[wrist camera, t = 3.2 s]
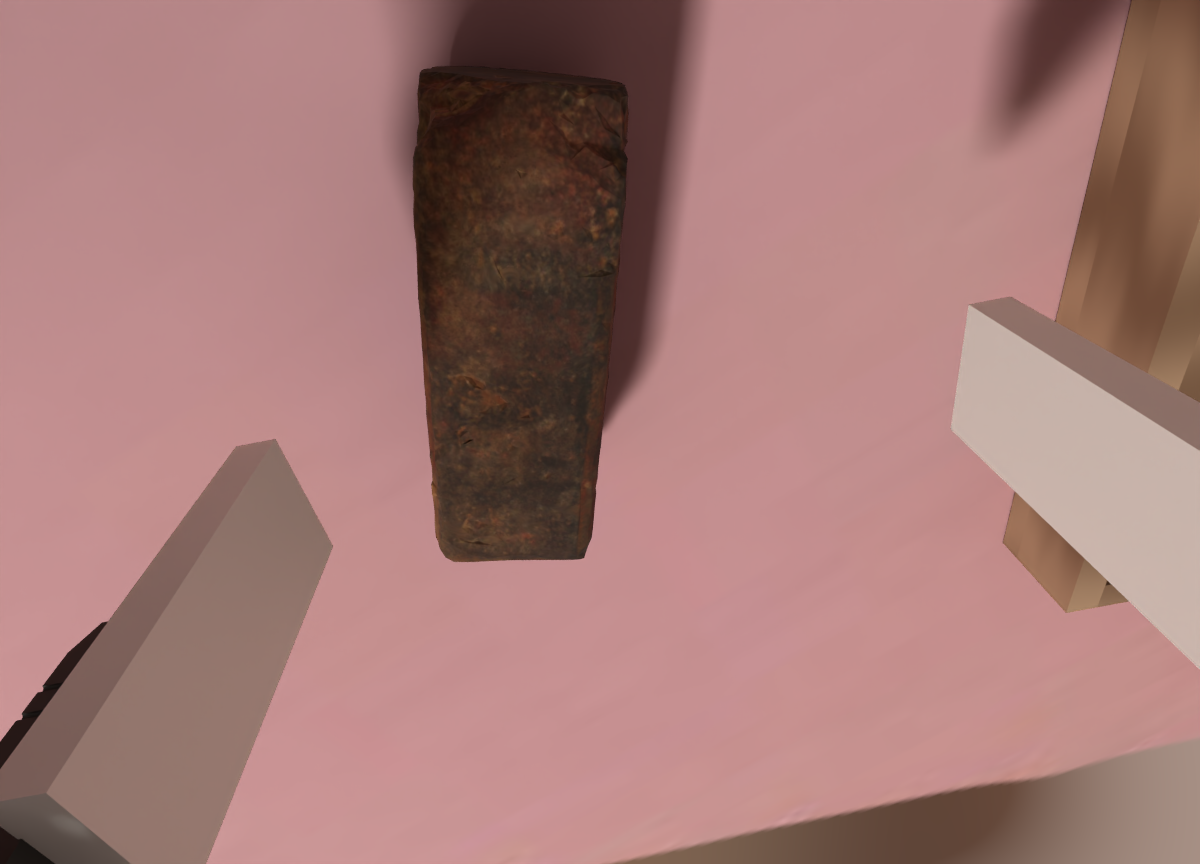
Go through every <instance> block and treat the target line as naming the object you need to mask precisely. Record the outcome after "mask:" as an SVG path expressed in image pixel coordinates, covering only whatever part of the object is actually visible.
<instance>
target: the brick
mask: <svg viewBox="0 0 1200 864" xmlns="http://www.w3.org/2000/svg"><path fill="white" fill-rule="evenodd" d="M627 104H628V94H627V91H626V87H625V85H622V83H620V82H615V81H611V80H606V79H597V78H589V77H582V76H573V75H565V74H556V73H546V72H536V71H527V70H515V69H504V68H500V69H494V68H487V67H472V66H444V67H432V68H431V69H424V70H422V71H421V72H420V78H419V87H418V110H419V126H418V131H417V146H416V148H415V152H414V157H413V190H414V208H413V212H414V230H415V238H416V250H417V274H418V300H419V309H420V320H421V337H422V351H423V368H424V385H425V396H426V415H427V425H428V435H429V446H430V459H431V464H432V478H433V481H432V484H431V486H432V495H433V501H434V510H435V532H436V538H437V540H438V542H439V547H440V549H441V551H442V552H443V554H444V555H445V557H446V558H448V559H450V560H452V561H453V562H479V561H499V560H574V559H582V558H584V556H585V553H586V550H587V547H588V545H589V542H590V540H591V537H592V530H593V520H594V508H595V498H596V489H595V488H596V483H597V477H598V464H599V455H600V448H601V437H602V425H603V415H604V407H605V399H606V390H607V383H608V365H609V357H610V349H611V341H612V327H613V318H614V312H615V301H616V286H617V277H618V270H619V262H620V240H621V232H622V224H623V214H624V208H625V201H626V166H627V157H626V155H625V153H624V148H625V145H626V143H627V142H628V141H627V139H626V137H627V127H628V115H629V112H628V105H627Z"/></svg>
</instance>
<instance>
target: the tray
mask: <svg viewBox="0 0 1200 864" xmlns="http://www.w3.org/2000/svg"><path fill="white" fill-rule="evenodd" d="M1056 322H1057V323H1058V324H1060V325H1062V326H1064V327H1066V328H1067V329H1069V330H1071V331H1073V332H1075V333H1076V334H1078V335H1080V336H1082V337H1083V338H1085V339H1087V340H1089V341H1091V342H1092V343H1094V344H1096V345H1098V346H1100V347H1101V348H1103V349H1105V350H1107V351H1108V352H1110V353H1112V354H1114V355H1116V356H1117V357H1119V358H1121V359H1123V360H1125V361H1126V362H1128V363H1130V364H1132V365H1133V366H1135V367H1137V368H1139V369H1141V370H1142V371H1144V372H1146V373H1148V374H1149V375H1151V376H1153V377H1155V378H1157V379H1158V380H1160V381H1162V382H1164V383H1166V384H1167V385H1169V386H1171V387H1173V388H1174V389H1176V390H1178V391H1180V392H1182V393H1183V394H1185V395H1187V396H1189V397H1191V398H1192V399H1194V400H1196V401H1198V402H1199V403H1200V0H1132V1H1131V6H1130V10H1129V14H1128V18H1127V22H1126V27H1125V31H1124V35H1123V39H1122V44H1121V48H1120V52H1119V56H1118V60H1117V65H1116V69H1115V73H1114V77H1113V82H1112V86H1111V90H1110V94H1109V98H1108V103H1107V107H1106V111H1105V115H1104V119H1103V124H1102V128H1101V132H1100V136H1099V141H1098V145H1097V149H1096V153H1095V157H1094V162H1093V166H1092V170H1091V174H1090V178H1089V183H1088V187H1087V191H1086V195H1085V200H1084V204H1083V208H1082V212H1081V216H1080V221H1079V225H1078V229H1077V233H1076V237H1075V242H1074V246H1073V250H1072V254H1071V259H1070V263H1069V267H1068V271H1067V275H1066V280H1065V284H1064V288H1063V292H1062V296H1061V301H1060V305H1059V309H1058V313H1057V318H1056ZM1003 543H1004V544H1005V546H1006V547H1007V548H1008V549H1009V550H1010V551H1011V552H1012V553H1013V554H1014V556H1015V557H1016V558H1017V559H1018V560H1019V561H1020V562H1021V563H1022V564H1023V566H1024V567H1025V568H1026V569H1027V570H1028V571H1029V572H1030V573H1031V574H1032V576H1033V577H1034V578H1035V579H1036V580H1037V581H1038V582H1039V583H1040V584H1041V586H1042V587H1043V588H1044V589H1045V590H1046V591H1047V592H1048V593H1049V594H1050V596H1051V597H1052V598H1053V599H1054V600H1055V601H1056V602H1057V603H1058V604H1059V606H1060V607H1061V608H1062V609H1063V610H1064V611H1065V612H1066V613H1069V612H1074V611H1079V610H1085V609H1090V608H1096V607H1101V606H1106V605H1112V604H1117V603H1123V602H1128V600H1127V599H1126V598H1125V597H1124V596H1123V595H1122V594H1121V593H1120V592H1119V591H1118V590H1117V589H1116V588H1115V587H1114V586H1113V585H1112V584H1111V583H1110V582H1108V581H1107V580H1106V579H1105V578H1104V577H1103V576H1102V575H1101V574H1100V573H1099V572H1098V571H1097V570H1096V569H1095V568H1094V567H1093V566H1092V565H1091V564H1090V563H1089V562H1088V561H1087V560H1086V559H1085V558H1084V557H1083V556H1082V555H1080V554H1079V553H1078V552H1077V551H1076V550H1075V549H1074V548H1073V547H1072V546H1071V545H1070V544H1069V543H1068V542H1067V541H1066V540H1065V539H1064V538H1063V537H1062V536H1061V535H1060V534H1059V533H1058V532H1057V531H1056V530H1055V529H1054V528H1052V527H1051V526H1050V525H1049V524H1048V523H1047V522H1046V521H1045V520H1044V519H1043V518H1042V517H1041V516H1040V515H1039V514H1038V513H1037V512H1036V511H1035V510H1034V509H1033V508H1032V507H1031V506H1030V505H1029V504H1028V503H1027V502H1025V501H1024V500H1023V499H1022V498H1021V497H1020V496H1019V495H1018V494H1017V493H1016V492H1015V495H1014V499H1013V503H1012V507H1011V511H1010V516H1009V520H1008V524H1007V528H1006V533H1005V537H1004V541H1003Z"/></svg>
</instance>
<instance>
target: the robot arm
mask: <svg viewBox="0 0 1200 864" xmlns="http://www.w3.org/2000/svg"><path fill="white" fill-rule="evenodd" d="M951 430H952V431H953V432H954V433H955V434H956V435H957V436H958V437H959V438H960V439H961V440H962V441H963V442H964V443H965V444H966V445H967V446H968V447H969V448H971V449H972V450H973V451H974V452H975V453H976V454H977V455H978V456H979V457H980V458H981V459H982V460H983V461H984V462H985V463H986V464H987V465H988V466H989V467H990V468H991V469H992V470H993V471H994V472H995V473H996V474H997V475H999V476H1000V477H1001V478H1002V479H1003V480H1004V481H1005V482H1006V483H1007V484H1008V485H1009V486H1010V487H1011V488H1012V489H1013V490H1014V491H1015V492H1016V493H1017V494H1018V495H1019V496H1020V497H1021V498H1022V499H1023V500H1024V501H1025V502H1027V503H1028V504H1029V505H1030V506H1031V507H1032V508H1033V509H1034V510H1035V511H1036V512H1037V513H1038V514H1039V515H1040V516H1041V517H1042V518H1043V519H1044V520H1045V521H1046V522H1047V523H1048V524H1049V525H1050V526H1051V527H1052V528H1054V529H1055V530H1056V531H1057V532H1058V533H1059V534H1060V535H1061V536H1062V537H1063V538H1064V539H1065V540H1066V541H1067V542H1068V543H1069V544H1070V545H1071V546H1072V547H1073V548H1074V549H1075V550H1076V551H1077V552H1078V553H1079V554H1080V555H1082V556H1083V557H1084V558H1085V559H1086V560H1087V561H1088V562H1089V563H1090V564H1091V565H1092V566H1093V567H1094V568H1095V569H1096V570H1097V571H1098V572H1099V573H1100V574H1101V575H1102V576H1103V577H1104V578H1105V579H1106V580H1107V581H1108V582H1110V583H1111V584H1112V585H1113V586H1114V587H1115V588H1116V589H1117V590H1118V591H1119V592H1120V593H1121V594H1122V595H1123V596H1124V597H1125V598H1126V599H1127V600H1128V601H1129V602H1130V603H1131V604H1132V605H1133V606H1134V607H1135V608H1136V609H1138V610H1139V611H1140V612H1141V613H1142V614H1143V615H1144V616H1145V617H1146V618H1147V619H1148V620H1149V621H1150V622H1151V623H1152V624H1153V625H1154V626H1155V627H1156V628H1157V629H1158V630H1159V631H1160V632H1161V633H1162V634H1163V635H1164V636H1166V637H1167V638H1168V639H1169V640H1170V641H1171V642H1172V643H1173V644H1174V645H1175V646H1176V647H1177V648H1178V649H1179V650H1180V651H1181V652H1182V653H1183V654H1184V655H1185V656H1186V657H1187V658H1188V659H1189V660H1190V661H1191V662H1192V663H1194V664H1195V665H1196V666H1197V667H1198V668H1199V669H1200V403H1199V402H1198V401H1196V400H1194V399H1192V398H1191V397H1189V396H1187V395H1185V394H1183V393H1182V392H1180V391H1178V390H1176V389H1174V388H1173V387H1171V386H1169V385H1167V384H1166V383H1164V382H1162V381H1160V380H1158V379H1157V378H1155V377H1153V376H1151V375H1149V374H1148V373H1146V372H1144V371H1142V370H1141V369H1139V368H1137V367H1135V366H1133V365H1132V364H1130V363H1128V362H1126V361H1125V360H1123V359H1121V358H1119V357H1117V356H1116V355H1114V354H1112V353H1110V352H1108V351H1107V350H1105V349H1103V348H1101V347H1100V346H1098V345H1096V344H1094V343H1092V342H1091V341H1089V340H1087V339H1085V338H1083V337H1082V336H1080V335H1078V334H1076V333H1075V332H1073V331H1071V330H1069V329H1067V328H1066V327H1064V326H1062V325H1060V324H1058V323H1057V322H1055V321H1053V320H1051V319H1050V318H1048V317H1046V316H1044V315H1042V314H1041V313H1039V312H1037V311H1035V310H1034V309H1032V308H1030V307H1028V306H1026V305H1025V304H1023V303H1021V302H1019V301H1017V300H1016V299H1014V298H1012V297H1006V298H1000V299H995V300H990V301H985V302H980V303H975V304H969V307H968V314H967V321H966V327H965V334H964V341H963V348H962V355H961V362H960V369H959V375H958V382H957V389H956V396H955V403H954V410H953V417H952V424H951ZM332 548H333V545H332V543H331V541H330V540H329V538H328V536H327V534H326V532H325V530H324V528H323V527H322V525H321V523H320V521H319V519H318V517H317V515H316V514H315V512H314V510H313V508H312V506H311V504H310V502H309V501H308V499H307V497H306V495H305V493H304V491H303V489H302V488H301V486H300V484H299V482H298V480H297V478H296V476H295V475H294V473H293V471H292V469H291V467H290V465H289V463H288V461H287V460H286V458H285V456H284V454H283V452H282V450H281V448H280V447H279V445H278V443H277V441H276V439H273V440H268V441H262V442H257V443H252V444H247V445H242V446H237V447H235V449H234V450H233V451H232V453H231V454H230V456H229V457H228V458H227V460H226V461H225V462H224V464H223V465H222V467H221V468H220V469H219V471H218V472H217V473H216V475H215V476H214V477H213V479H212V480H211V482H210V483H209V484H208V486H207V487H206V488H205V490H204V491H203V492H202V494H201V495H200V497H199V498H198V499H197V501H196V502H195V503H194V505H193V506H192V508H191V509H190V510H189V512H188V513H187V514H186V516H185V517H184V518H183V520H182V521H181V523H180V524H179V525H178V527H177V528H176V529H175V531H174V532H173V534H172V535H171V536H170V538H169V539H168V540H167V542H166V543H165V544H164V546H163V547H162V549H161V550H160V551H159V553H158V554H157V555H156V557H155V558H154V560H153V561H152V562H151V564H150V565H149V566H148V568H147V569H146V570H145V572H144V573H143V575H142V576H141V577H140V579H139V580H138V581H137V583H136V584H135V586H134V587H133V588H132V590H131V591H130V592H129V594H128V595H127V596H126V598H125V599H124V601H123V602H122V603H121V605H120V606H119V607H118V609H117V610H116V612H115V613H114V614H113V616H112V617H111V618H110V620H109V621H108V622H103V623H101V624H100V625H99V626H98V627H97V628H95V629H94V630H93V631H92V632H91V633H90V634H89V635H88V636H86V637H85V638H84V639H83V640H82V641H81V642H80V643H79V644H77V645H76V646H75V647H74V648H73V649H72V650H71V651H69V652H68V653H67V655H66V656H65V657H64V659H63V660H62V661H61V663H60V664H59V665H58V666H57V668H56V669H55V670H54V672H53V673H52V674H51V676H50V677H49V678H48V680H47V681H46V682H45V684H44V685H43V692H38V693H37V694H36V695H35V697H34V698H33V699H32V701H31V702H30V703H29V705H28V706H27V707H26V709H25V710H24V711H23V713H22V715H23V718H22V720H18V721H16V722H15V723H14V724H13V726H12V727H11V728H10V730H9V731H8V732H7V734H6V735H5V736H4V738H3V739H2V740H1V742H0V864H206V862H207V860H208V857H209V855H210V852H211V850H212V847H213V845H214V842H215V840H216V837H217V835H218V832H219V830H220V827H221V825H222V822H223V820H224V817H225V815H226V812H227V810H228V807H229V805H230V802H231V800H232V797H233V795H234V792H235V790H236V787H237V785H238V782H239V780H240V777H241V775H242V772H243V770H244V767H245V765H246V762H247V760H248V757H249V755H250V752H251V750H252V747H253V745H254V742H255V740H256V737H257V735H258V732H259V730H260V727H261V725H262V722H263V720H264V717H265V715H266V712H267V710H268V707H269V705H270V702H271V700H272V697H273V695H274V692H275V690H276V687H277V685H278V682H279V680H280V678H281V675H282V673H283V670H284V668H285V665H286V663H287V660H288V658H289V655H290V653H291V650H292V648H293V645H294V643H295V640H296V638H297V635H298V633H299V630H300V628H301V625H302V623H303V620H304V618H305V615H306V613H307V610H308V608H309V605H310V603H311V600H312V598H313V595H314V593H315V590H316V588H317V585H318V583H319V580H320V578H321V575H322V573H323V570H324V568H325V565H326V563H327V560H328V558H329V555H330V553H331V550H332Z"/></svg>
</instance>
